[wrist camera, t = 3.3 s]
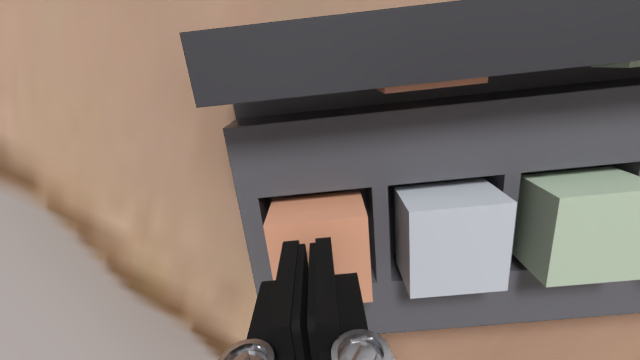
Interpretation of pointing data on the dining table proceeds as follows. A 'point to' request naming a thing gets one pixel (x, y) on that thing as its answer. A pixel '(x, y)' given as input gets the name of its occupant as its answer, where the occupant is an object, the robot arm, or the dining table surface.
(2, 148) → the dining table surface
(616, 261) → the key sage
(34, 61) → the dining table surface
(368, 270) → the key terracotta
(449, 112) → the keypad
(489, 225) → the key slate
